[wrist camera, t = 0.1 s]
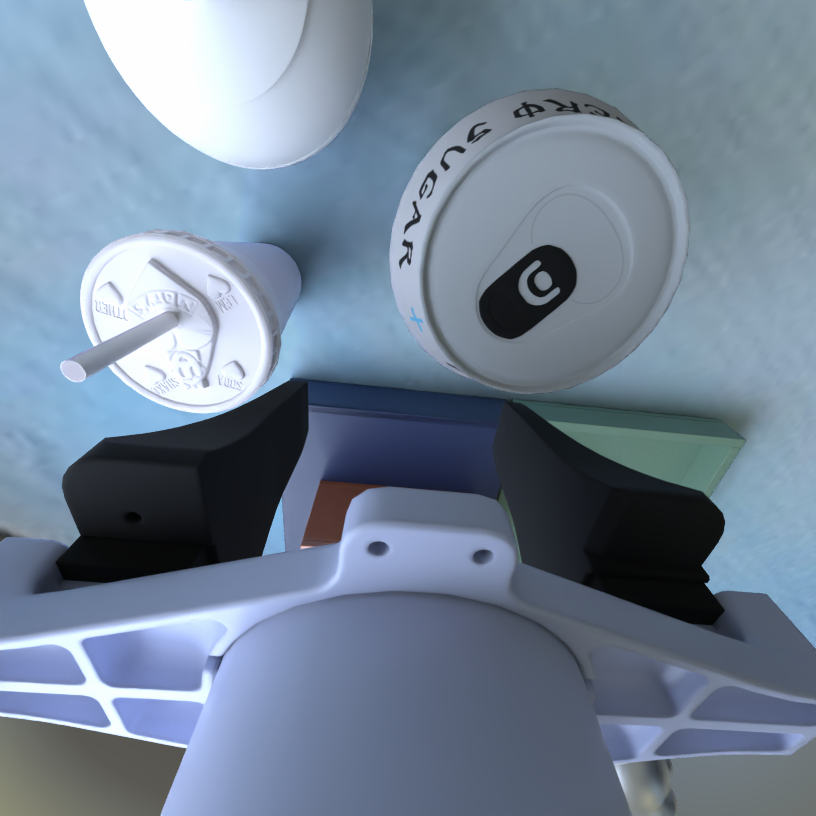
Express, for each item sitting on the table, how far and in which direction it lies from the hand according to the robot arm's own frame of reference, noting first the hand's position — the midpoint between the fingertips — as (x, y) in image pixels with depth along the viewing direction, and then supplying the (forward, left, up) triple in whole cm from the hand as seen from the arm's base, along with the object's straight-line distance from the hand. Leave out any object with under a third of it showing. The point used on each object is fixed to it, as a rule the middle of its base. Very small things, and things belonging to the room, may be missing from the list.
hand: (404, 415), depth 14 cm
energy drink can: (+6, -2, -10) cm, 12 cm away
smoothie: (+2, +8, -10) cm, 13 cm away
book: (-12, 0, -10) cm, 16 cm away
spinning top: (+11, +6, -10) cm, 16 cm away
